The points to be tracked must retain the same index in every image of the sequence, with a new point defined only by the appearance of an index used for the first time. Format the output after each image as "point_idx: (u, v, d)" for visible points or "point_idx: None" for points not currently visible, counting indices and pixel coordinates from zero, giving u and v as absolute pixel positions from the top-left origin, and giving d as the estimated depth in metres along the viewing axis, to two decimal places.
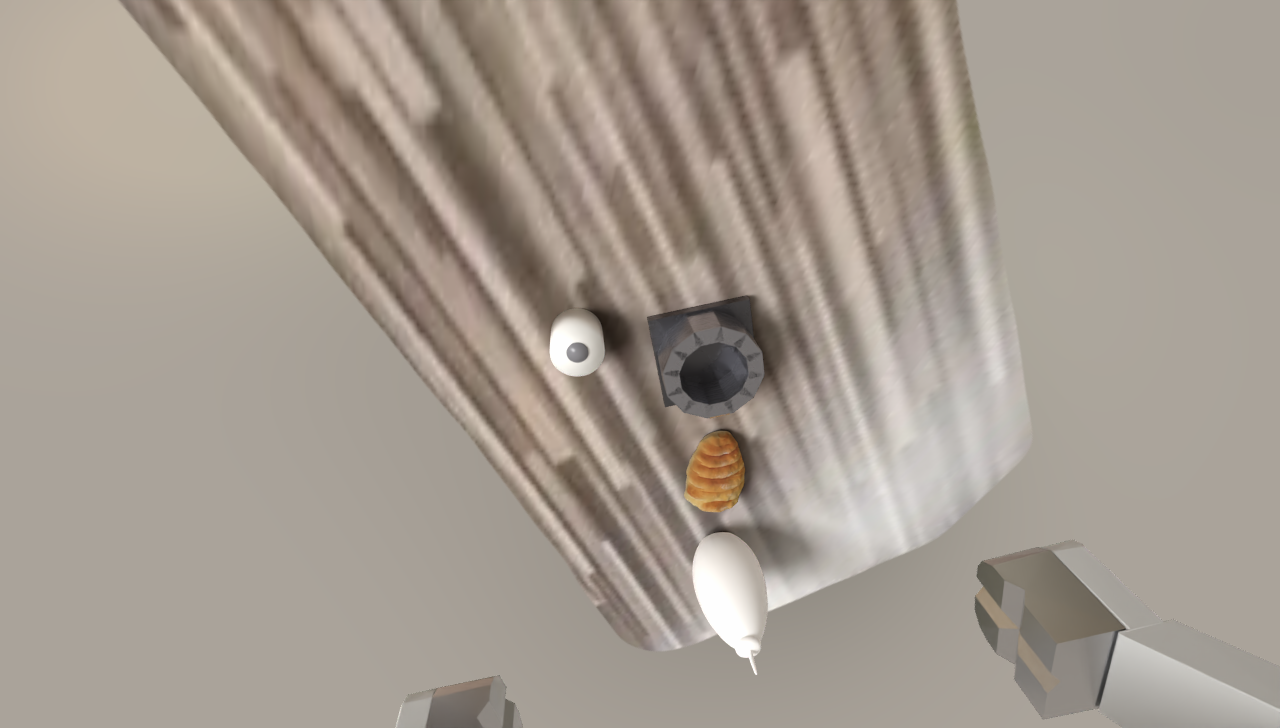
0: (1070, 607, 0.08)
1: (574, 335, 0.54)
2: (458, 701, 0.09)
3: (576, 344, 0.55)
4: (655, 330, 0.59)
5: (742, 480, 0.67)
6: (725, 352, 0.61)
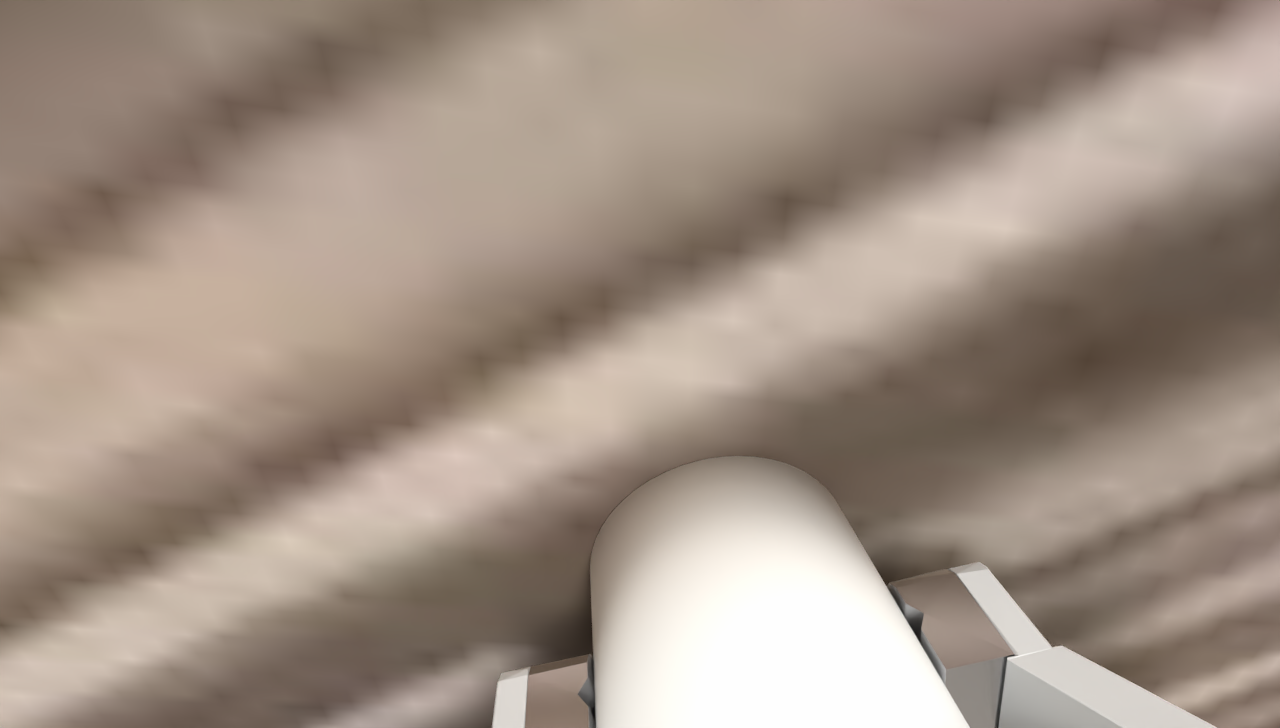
0: (964, 632, 0.09)
1: None
2: (556, 678, 0.09)
3: None
4: None
5: None
6: None
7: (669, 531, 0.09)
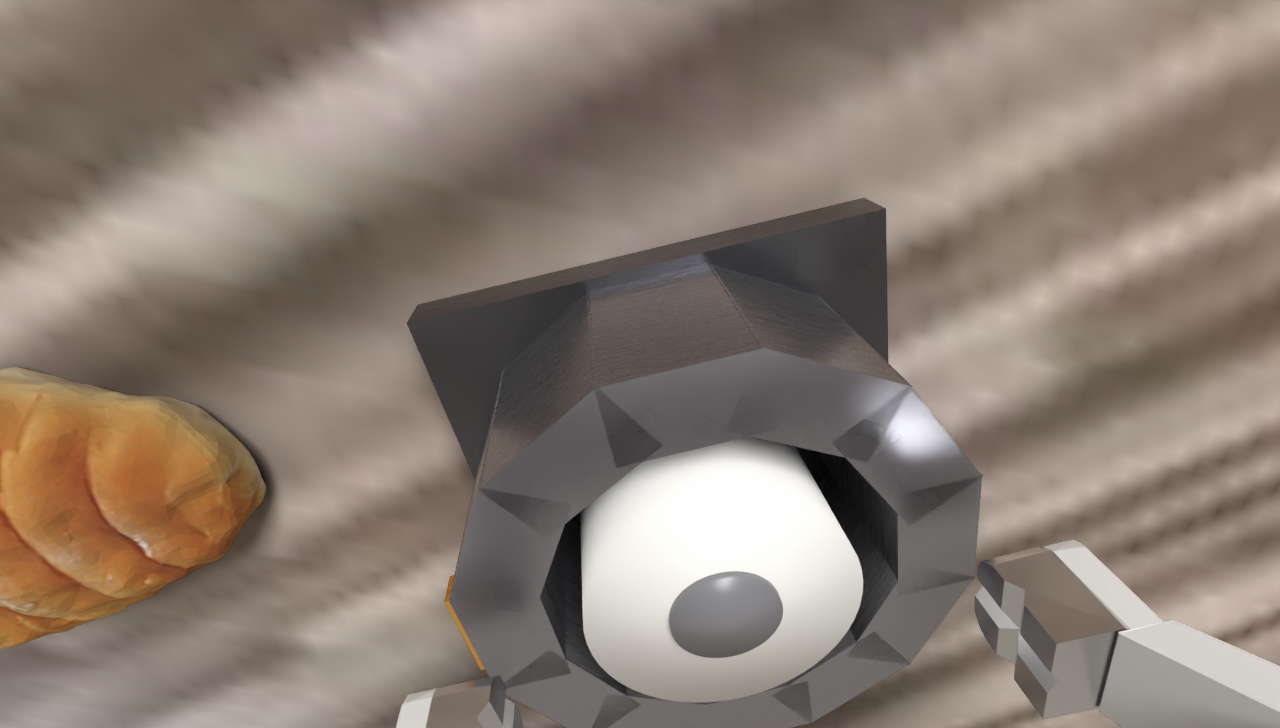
0: (1071, 607, 0.08)
1: (819, 596, 0.11)
2: (458, 701, 0.09)
3: (773, 611, 0.11)
4: (832, 246, 0.12)
5: None
6: None
7: None
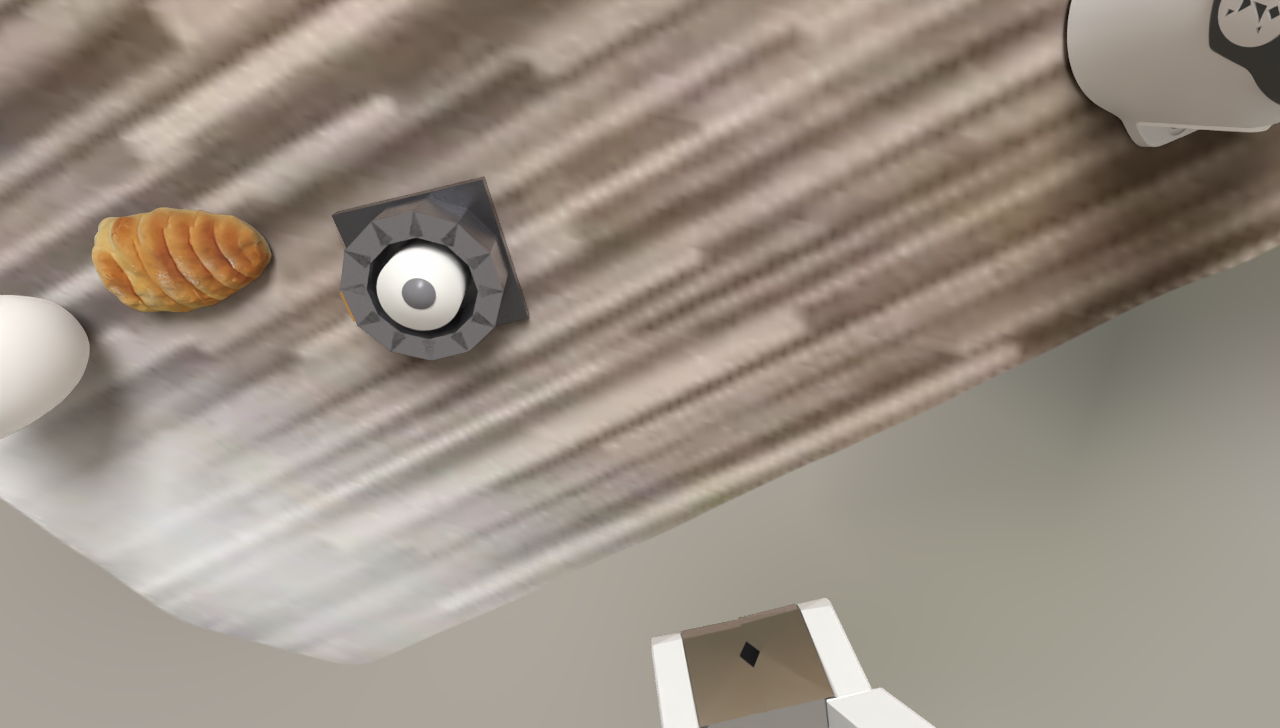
0: (793, 672, 0.09)
1: (446, 289, 0.37)
2: (713, 642, 0.09)
3: (432, 292, 0.37)
4: (467, 191, 0.39)
5: (190, 306, 0.40)
6: None
7: (404, 245, 0.39)
